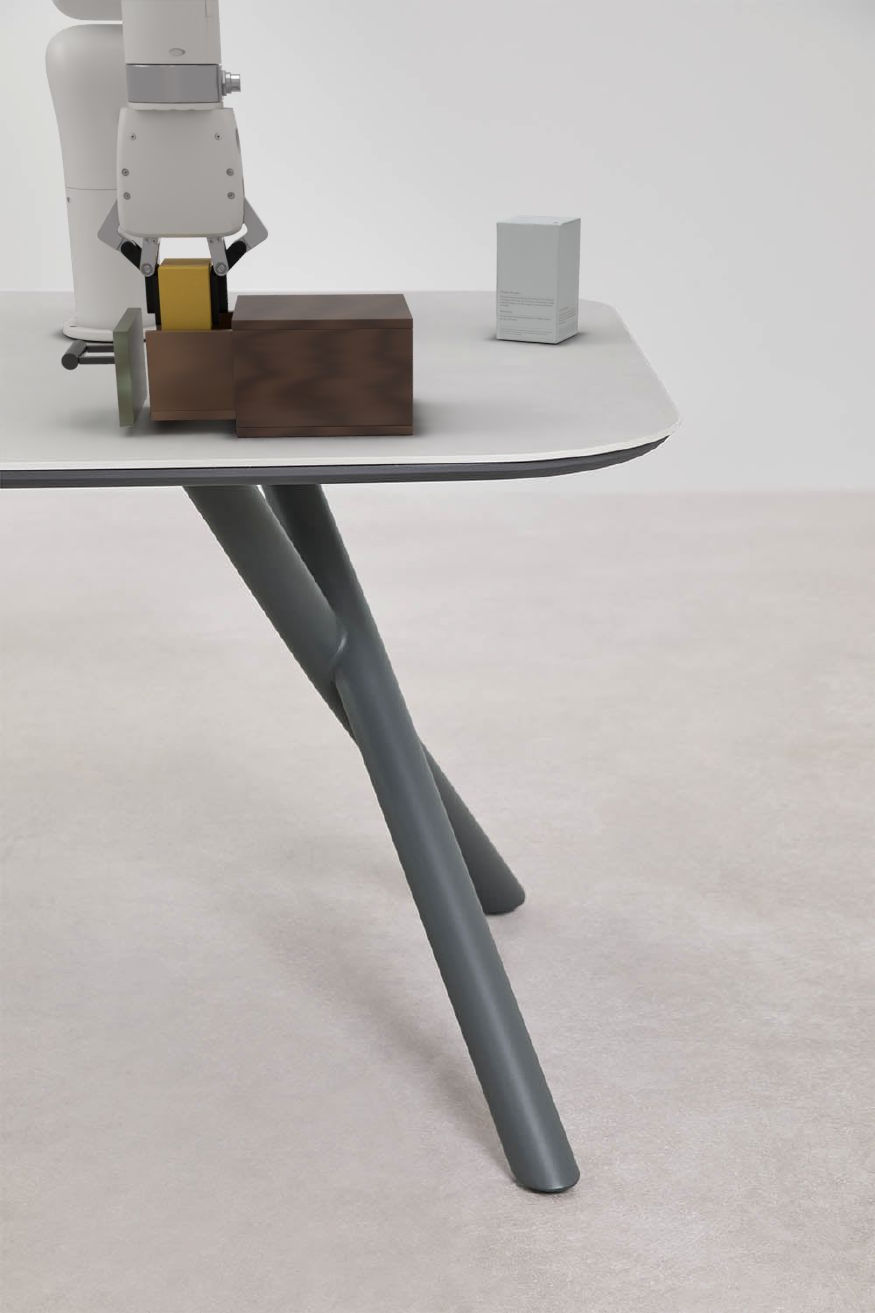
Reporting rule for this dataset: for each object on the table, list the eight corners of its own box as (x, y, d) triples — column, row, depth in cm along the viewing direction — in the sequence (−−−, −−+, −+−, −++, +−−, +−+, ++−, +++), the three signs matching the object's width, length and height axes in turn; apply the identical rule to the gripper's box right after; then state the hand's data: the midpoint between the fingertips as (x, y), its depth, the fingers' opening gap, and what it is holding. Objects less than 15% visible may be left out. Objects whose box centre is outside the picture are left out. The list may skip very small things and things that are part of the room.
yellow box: (167, 317, 128) (164, 258, 126) (214, 317, 129) (211, 257, 127) (161, 330, 123) (157, 268, 121) (210, 329, 123) (207, 267, 121)
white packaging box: (579, 333, 168) (584, 216, 163) (556, 345, 161) (560, 223, 157) (518, 328, 170) (520, 213, 166) (493, 339, 164) (495, 220, 159)
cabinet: (236, 437, 124) (231, 320, 120) (242, 403, 135) (237, 294, 132) (413, 434, 125) (413, 318, 121) (403, 400, 136) (403, 293, 133)
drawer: (61, 427, 123) (52, 331, 120) (80, 396, 133) (72, 307, 130) (284, 424, 124) (281, 329, 121) (286, 394, 135) (283, 306, 132)
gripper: (281, 88, 123) (288, 314, 130) (74, 87, 122) (93, 315, 129) (280, 91, 116) (288, 329, 123) (61, 90, 115) (81, 331, 122)
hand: (188, 319), depth 126 cm, fingers closed on yellow box, 4 cm apart
